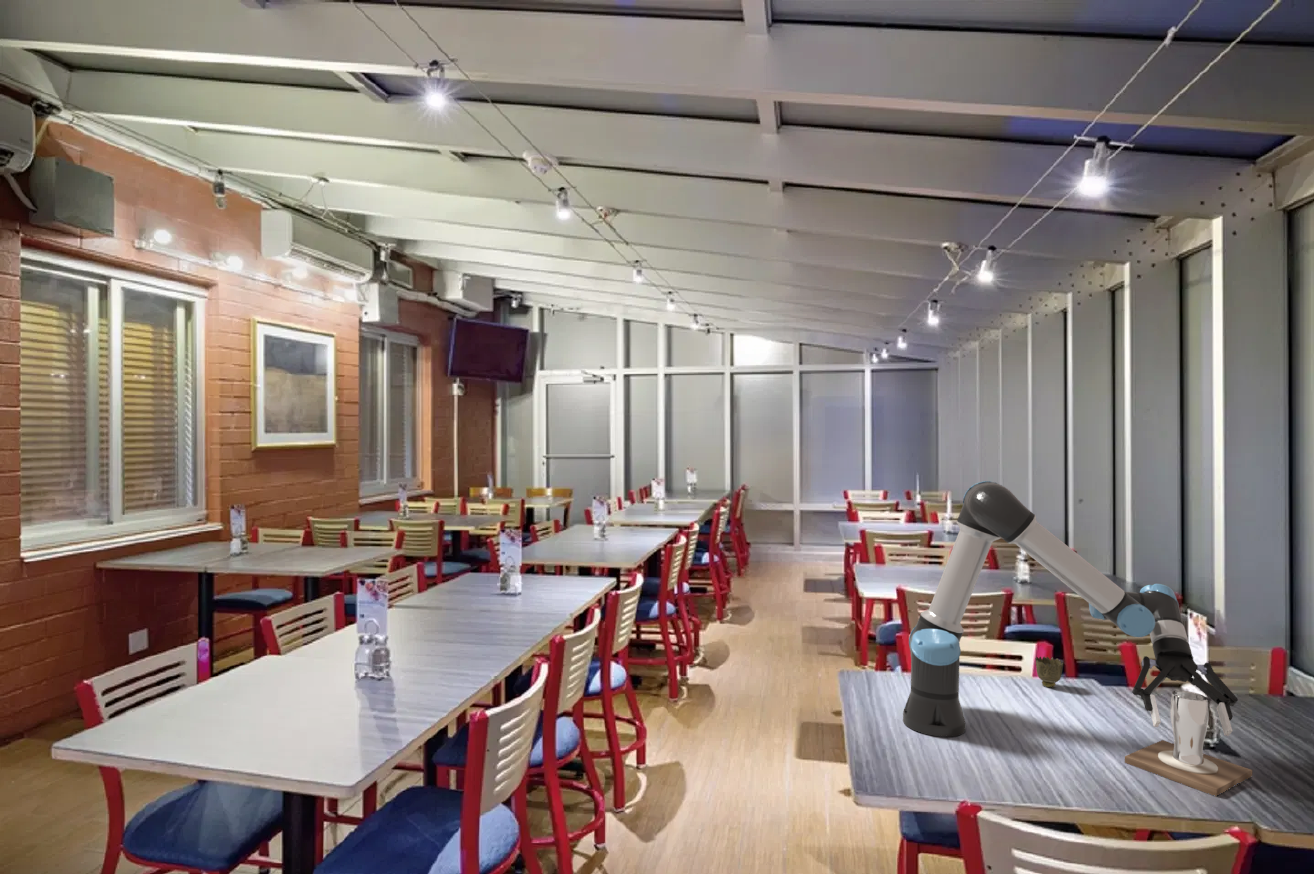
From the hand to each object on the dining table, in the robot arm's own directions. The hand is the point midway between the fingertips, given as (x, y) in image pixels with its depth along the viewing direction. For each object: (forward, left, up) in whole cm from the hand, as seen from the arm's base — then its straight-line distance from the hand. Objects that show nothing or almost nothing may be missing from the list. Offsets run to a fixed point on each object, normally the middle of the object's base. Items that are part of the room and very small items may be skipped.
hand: (1192, 728), depth 163 cm
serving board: (+2, +2, -10) cm, 10 cm away
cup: (+28, +49, -10) cm, 57 cm away
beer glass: (+2, +2, -8) cm, 9 cm away
